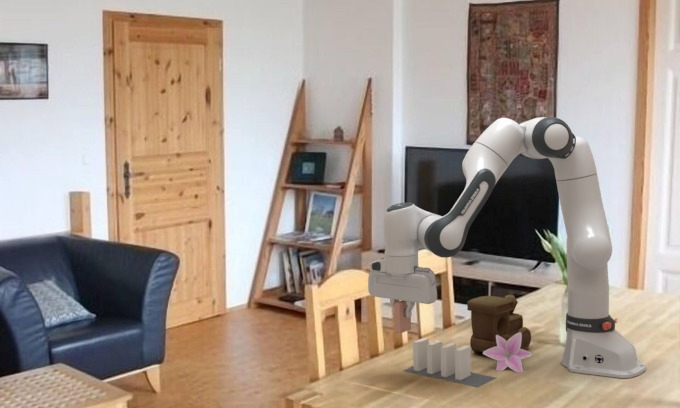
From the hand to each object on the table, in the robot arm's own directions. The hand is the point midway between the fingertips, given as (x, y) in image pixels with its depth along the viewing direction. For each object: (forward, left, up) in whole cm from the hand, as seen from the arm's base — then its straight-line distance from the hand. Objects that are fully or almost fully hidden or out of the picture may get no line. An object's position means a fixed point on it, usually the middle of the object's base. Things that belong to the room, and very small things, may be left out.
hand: (402, 316), depth 245 cm
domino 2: (+1, -10, -17) cm, 20 cm away
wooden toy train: (-7, -39, -18) cm, 43 cm away
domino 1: (0, 0, -4) cm, 4 cm away
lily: (-18, -25, -18) cm, 35 cm away
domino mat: (-8, -10, -18) cm, 22 cm away
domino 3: (-3, -10, -17) cm, 20 cm away
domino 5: (-12, -10, -17) cm, 23 cm away
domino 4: (-8, -10, -17) cm, 21 cm away
